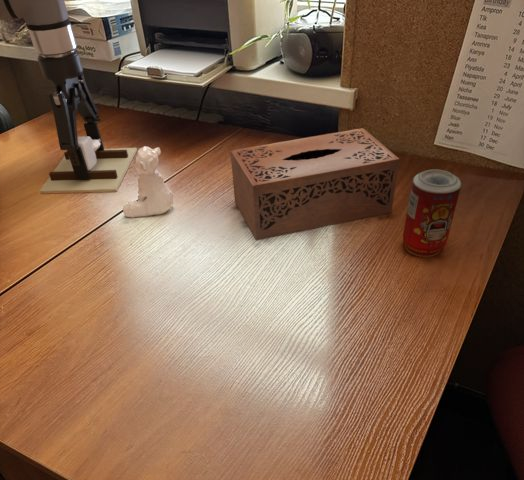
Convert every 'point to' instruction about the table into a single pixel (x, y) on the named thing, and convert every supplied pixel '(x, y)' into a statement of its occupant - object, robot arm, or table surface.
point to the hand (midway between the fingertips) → (91, 165)
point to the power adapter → (88, 150)
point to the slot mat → (91, 173)
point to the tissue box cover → (313, 182)
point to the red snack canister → (430, 211)
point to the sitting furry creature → (149, 187)
